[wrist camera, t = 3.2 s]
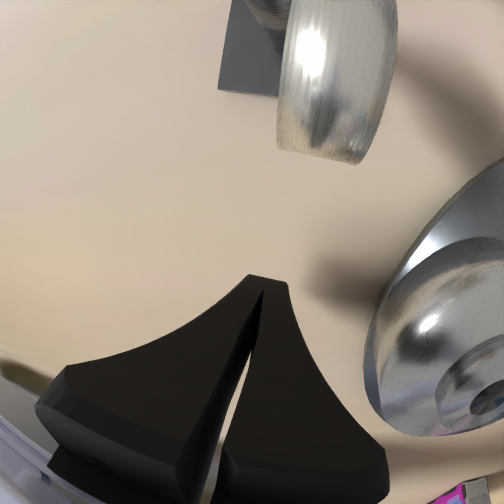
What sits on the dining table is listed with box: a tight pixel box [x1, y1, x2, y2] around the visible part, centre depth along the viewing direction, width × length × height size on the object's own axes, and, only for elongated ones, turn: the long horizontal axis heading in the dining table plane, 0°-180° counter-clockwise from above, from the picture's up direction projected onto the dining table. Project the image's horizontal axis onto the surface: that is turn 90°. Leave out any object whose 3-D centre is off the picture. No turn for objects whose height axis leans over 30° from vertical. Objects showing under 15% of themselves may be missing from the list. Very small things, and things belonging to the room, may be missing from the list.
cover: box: [373, 237, 504, 436], centre depth 8 cm, size 8×8×4 cm
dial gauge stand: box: [218, 0, 398, 165], centre depth 5 cm, size 5×4×7 cm
